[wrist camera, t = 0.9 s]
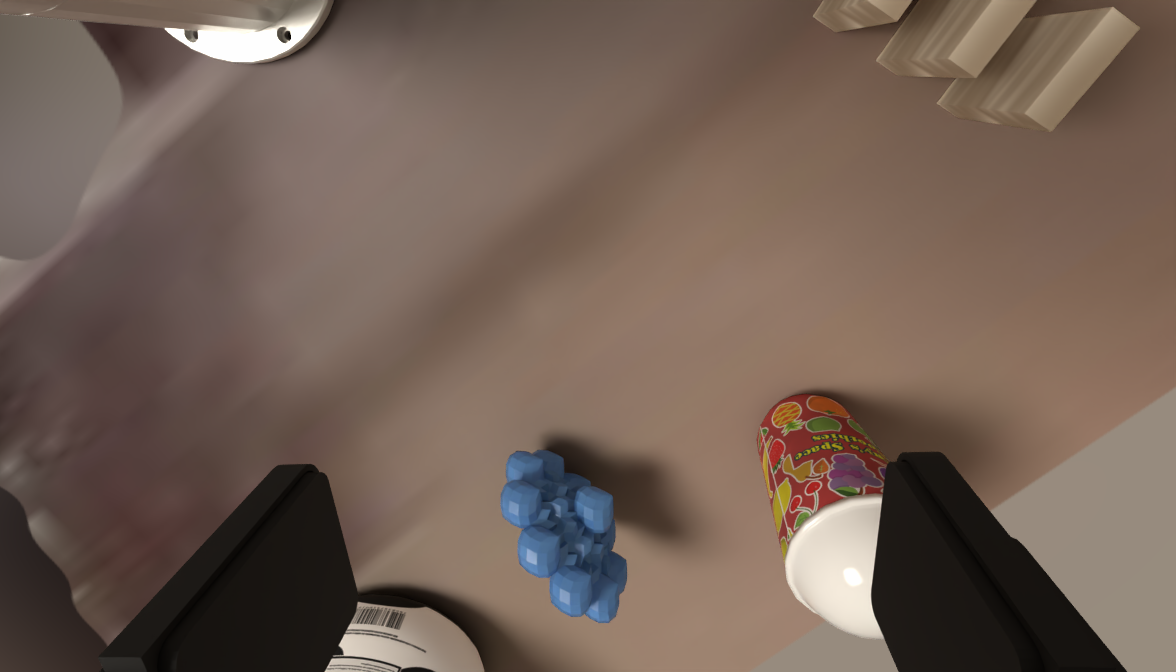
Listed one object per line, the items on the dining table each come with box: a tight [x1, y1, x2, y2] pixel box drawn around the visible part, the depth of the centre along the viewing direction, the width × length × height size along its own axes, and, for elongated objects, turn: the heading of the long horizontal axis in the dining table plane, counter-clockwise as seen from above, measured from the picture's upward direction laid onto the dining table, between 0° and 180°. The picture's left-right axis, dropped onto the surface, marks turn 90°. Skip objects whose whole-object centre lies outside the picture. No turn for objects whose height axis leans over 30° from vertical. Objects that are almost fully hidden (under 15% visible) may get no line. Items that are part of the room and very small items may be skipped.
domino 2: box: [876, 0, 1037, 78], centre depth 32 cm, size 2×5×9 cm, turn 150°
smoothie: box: [757, 394, 889, 640], centre depth 37 cm, size 8×8×20 cm
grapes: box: [501, 450, 627, 623], centre depth 43 cm, size 12×7×12 cm, turn 42°
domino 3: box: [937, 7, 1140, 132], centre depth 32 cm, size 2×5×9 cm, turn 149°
